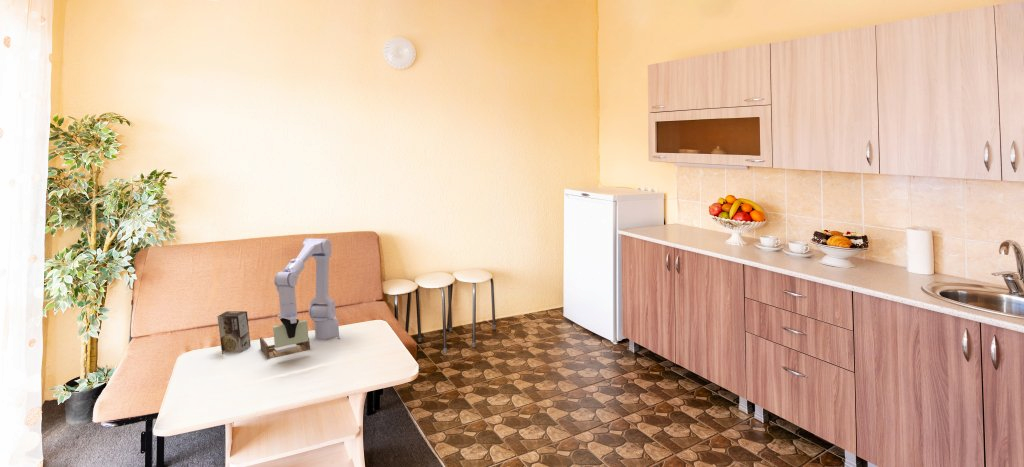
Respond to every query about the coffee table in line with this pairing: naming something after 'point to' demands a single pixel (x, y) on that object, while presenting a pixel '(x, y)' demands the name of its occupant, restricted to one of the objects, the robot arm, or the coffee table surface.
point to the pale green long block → (282, 337)
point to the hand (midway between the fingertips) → (290, 336)
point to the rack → (269, 349)
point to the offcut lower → (287, 352)
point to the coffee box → (234, 331)
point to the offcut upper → (286, 348)
